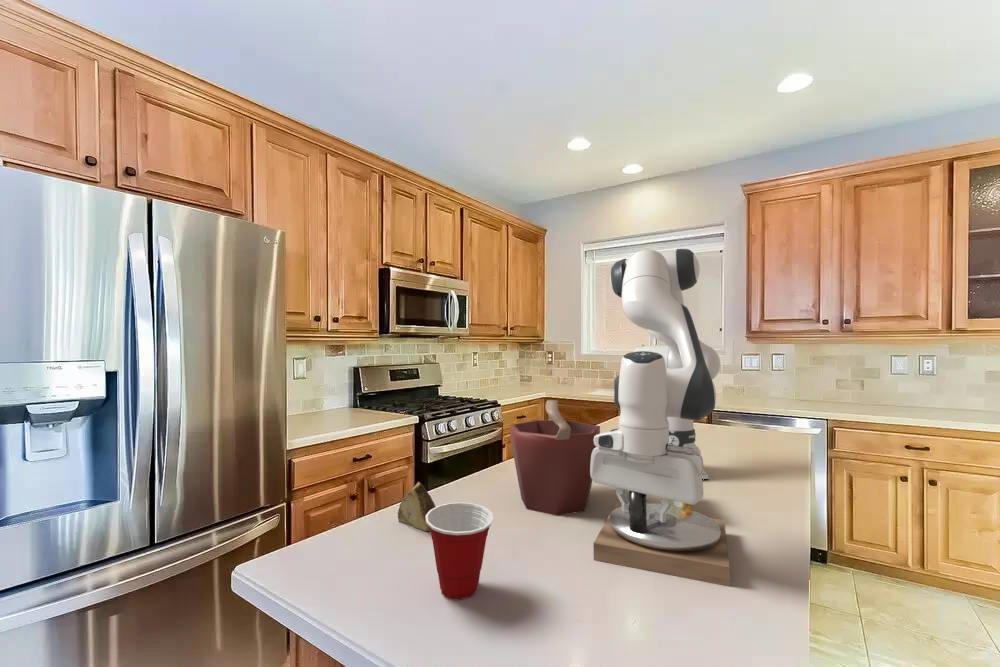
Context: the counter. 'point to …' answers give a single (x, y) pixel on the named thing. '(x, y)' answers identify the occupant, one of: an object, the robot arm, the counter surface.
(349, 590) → the counter surface
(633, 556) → the walnut base
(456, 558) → the plastic cup
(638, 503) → the handwheel
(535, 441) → the bucket
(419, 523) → the rock
